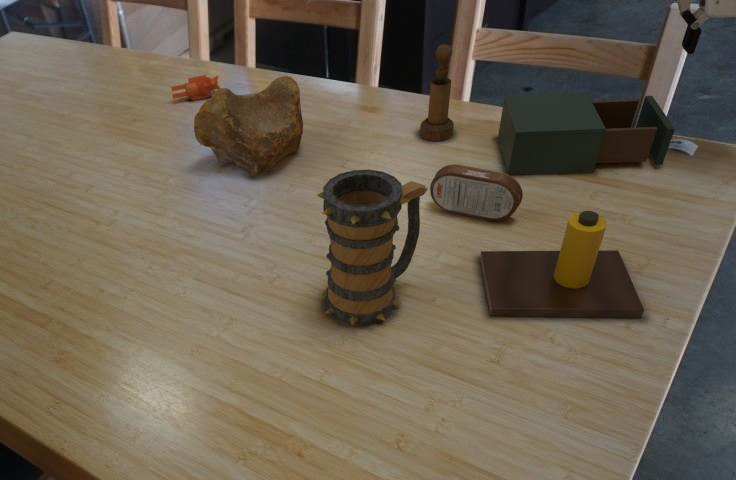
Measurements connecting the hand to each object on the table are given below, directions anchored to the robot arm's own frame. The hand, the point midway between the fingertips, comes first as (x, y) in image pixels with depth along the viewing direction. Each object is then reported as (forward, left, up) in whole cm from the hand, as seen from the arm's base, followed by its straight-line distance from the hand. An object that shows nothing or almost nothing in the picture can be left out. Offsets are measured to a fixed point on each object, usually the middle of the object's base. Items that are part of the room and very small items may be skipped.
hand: (720, 49), depth 111 cm
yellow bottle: (+27, +40, -17) cm, 51 cm away
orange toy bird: (+99, -35, -18) cm, 107 cm away
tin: (+39, +20, -18) cm, 47 cm away
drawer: (+12, 0, -17) cm, 21 cm away
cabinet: (+24, 0, -18) cm, 30 cm away
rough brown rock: (+79, -1, -18) cm, 81 cm away
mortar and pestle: (+43, -10, -18) cm, 48 cm away
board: (+29, +40, -18) cm, 52 cm away
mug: (+56, +43, -18) cm, 73 cm away
